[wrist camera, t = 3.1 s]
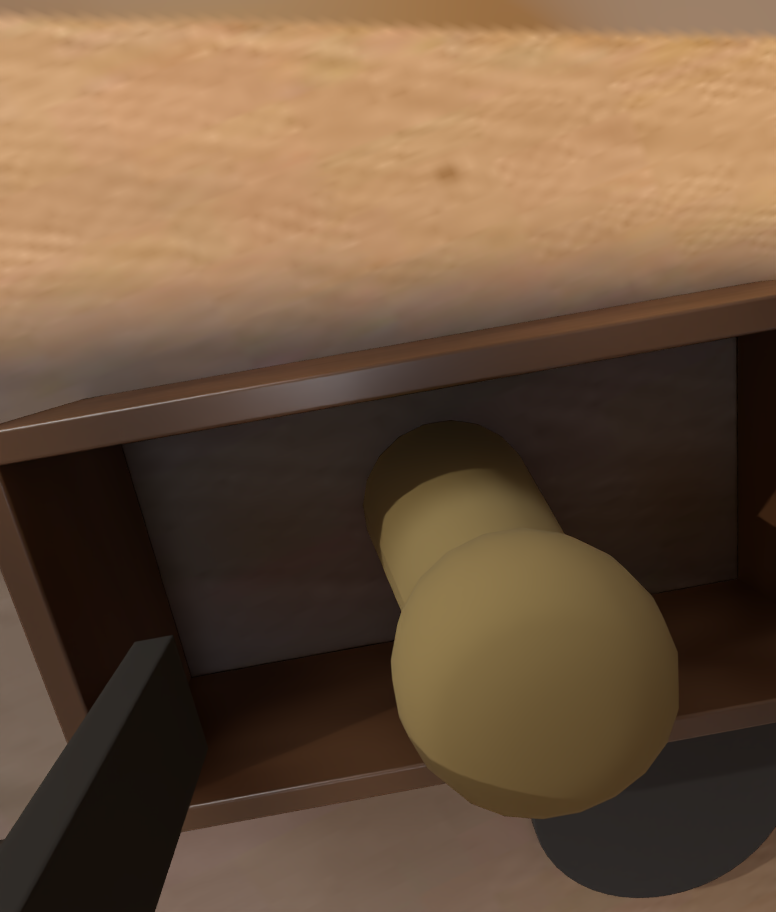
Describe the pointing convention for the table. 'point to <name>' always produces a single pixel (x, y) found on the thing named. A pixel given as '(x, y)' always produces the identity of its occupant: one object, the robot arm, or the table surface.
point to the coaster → (673, 818)
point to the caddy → (369, 668)
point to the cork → (513, 632)
